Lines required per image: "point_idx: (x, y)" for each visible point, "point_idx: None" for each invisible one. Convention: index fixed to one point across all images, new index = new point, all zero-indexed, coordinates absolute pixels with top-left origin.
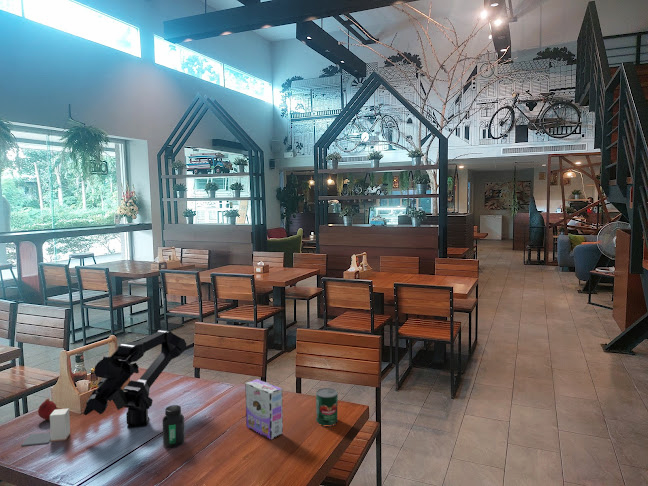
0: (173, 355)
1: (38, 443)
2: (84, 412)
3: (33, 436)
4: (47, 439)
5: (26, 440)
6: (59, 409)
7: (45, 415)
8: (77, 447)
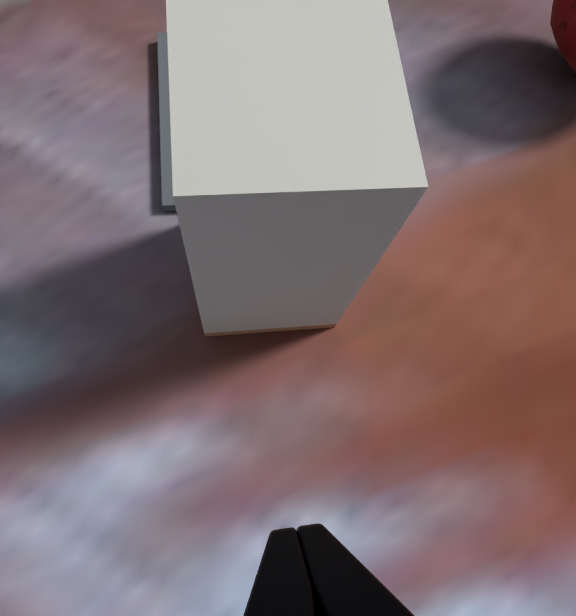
0: None
1: (160, 138)
2: (264, 565)
3: None
4: None
5: None
6: (388, 59)
7: (561, 17)
8: (7, 527)
